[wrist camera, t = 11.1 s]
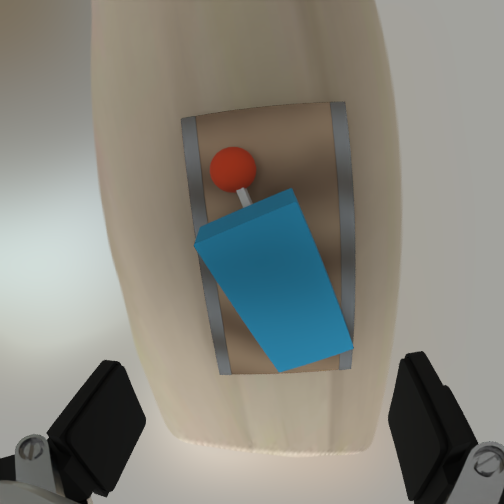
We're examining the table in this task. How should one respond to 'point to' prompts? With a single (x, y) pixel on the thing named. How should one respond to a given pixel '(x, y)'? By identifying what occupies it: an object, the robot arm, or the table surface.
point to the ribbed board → (268, 184)
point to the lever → (272, 270)
